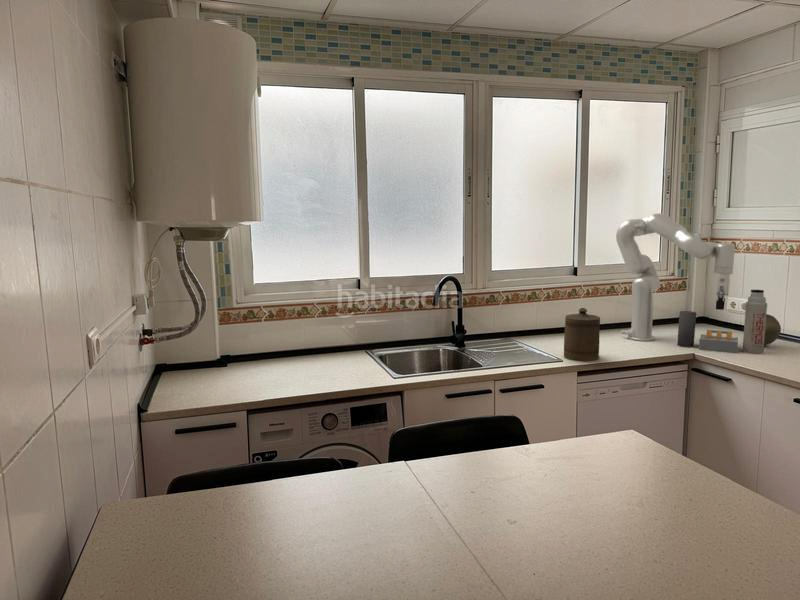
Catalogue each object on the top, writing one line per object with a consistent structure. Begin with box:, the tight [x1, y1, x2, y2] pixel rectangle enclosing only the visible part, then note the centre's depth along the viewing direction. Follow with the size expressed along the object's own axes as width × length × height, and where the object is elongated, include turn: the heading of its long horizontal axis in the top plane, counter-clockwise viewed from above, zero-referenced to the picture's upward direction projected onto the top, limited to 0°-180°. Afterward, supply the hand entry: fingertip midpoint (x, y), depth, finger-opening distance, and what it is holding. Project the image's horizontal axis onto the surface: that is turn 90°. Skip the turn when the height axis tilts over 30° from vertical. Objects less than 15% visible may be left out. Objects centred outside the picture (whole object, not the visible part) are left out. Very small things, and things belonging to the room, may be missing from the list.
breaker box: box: [698, 333, 739, 354], centre depth 259 cm, size 15×12×5 cm
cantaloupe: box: [764, 313, 782, 347], centre depth 262 cm, size 14×14×15 cm
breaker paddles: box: [706, 329, 733, 339], centre depth 258 cm, size 10×2×3 cm, turn 59°
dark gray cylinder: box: [676, 310, 697, 348], centre depth 265 cm, size 7×7×16 cm
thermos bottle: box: [742, 289, 768, 355], centre depth 251 cm, size 8×8×28 cm
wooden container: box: [563, 307, 601, 362], centre depth 248 cm, size 15×15×22 cm
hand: (720, 307), depth 257 cm, fingers open, 9 cm apart
